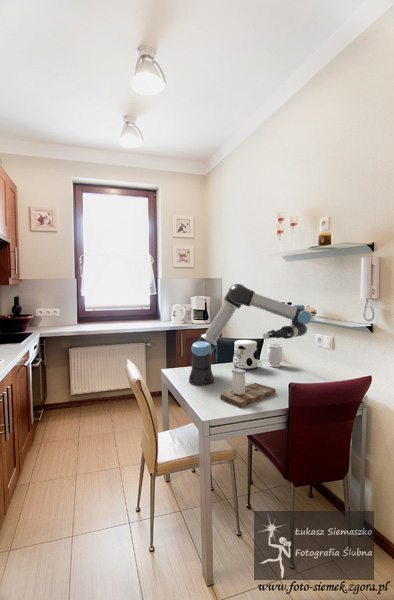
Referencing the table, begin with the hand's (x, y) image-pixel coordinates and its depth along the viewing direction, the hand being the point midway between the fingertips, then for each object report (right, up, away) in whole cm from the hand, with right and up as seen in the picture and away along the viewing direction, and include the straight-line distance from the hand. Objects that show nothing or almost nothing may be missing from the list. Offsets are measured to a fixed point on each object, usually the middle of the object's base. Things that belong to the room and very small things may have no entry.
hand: (264, 336), depth 176 cm
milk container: (-3, -27, +45) cm, 53 cm away
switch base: (-10, -31, -8) cm, 33 cm away
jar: (+18, -27, +49) cm, 59 cm away
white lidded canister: (-16, -28, -11) cm, 34 cm away
